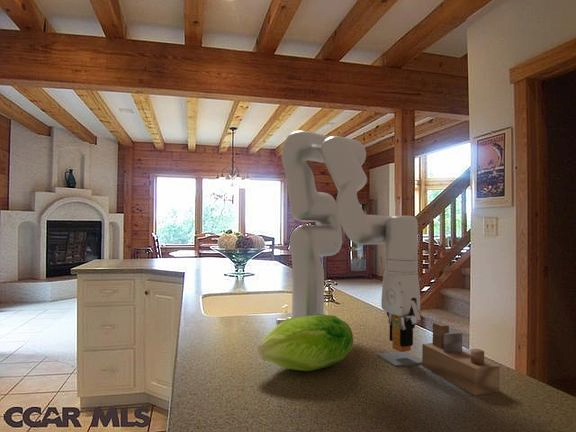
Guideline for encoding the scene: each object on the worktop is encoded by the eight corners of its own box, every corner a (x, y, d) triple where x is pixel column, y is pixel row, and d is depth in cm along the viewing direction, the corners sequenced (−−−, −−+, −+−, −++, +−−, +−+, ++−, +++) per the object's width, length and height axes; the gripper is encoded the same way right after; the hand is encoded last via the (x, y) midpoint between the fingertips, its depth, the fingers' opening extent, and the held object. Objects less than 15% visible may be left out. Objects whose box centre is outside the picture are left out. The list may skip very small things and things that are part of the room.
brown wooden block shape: (474, 395, 76) (475, 342, 76) (422, 365, 91) (422, 322, 91) (499, 391, 77) (499, 340, 78) (443, 363, 93) (444, 320, 93)
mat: (395, 366, 90) (395, 365, 90) (377, 355, 97) (377, 353, 97) (425, 363, 92) (425, 361, 92) (405, 352, 100) (405, 351, 100)
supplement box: (390, 348, 96) (390, 307, 96) (401, 346, 97) (401, 305, 97) (400, 352, 93) (400, 309, 93) (411, 350, 94) (411, 308, 94)
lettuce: (248, 366, 89) (249, 314, 89) (335, 353, 98) (335, 306, 98) (270, 389, 77) (271, 329, 77) (366, 372, 87) (367, 318, 87)
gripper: (370, 263, 102) (369, 335, 102) (408, 271, 86) (408, 355, 86) (395, 263, 104) (395, 332, 104) (437, 270, 88) (436, 352, 88)
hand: (400, 342), depth 95 cm, fingers closed on supplement box, 3 cm apart
